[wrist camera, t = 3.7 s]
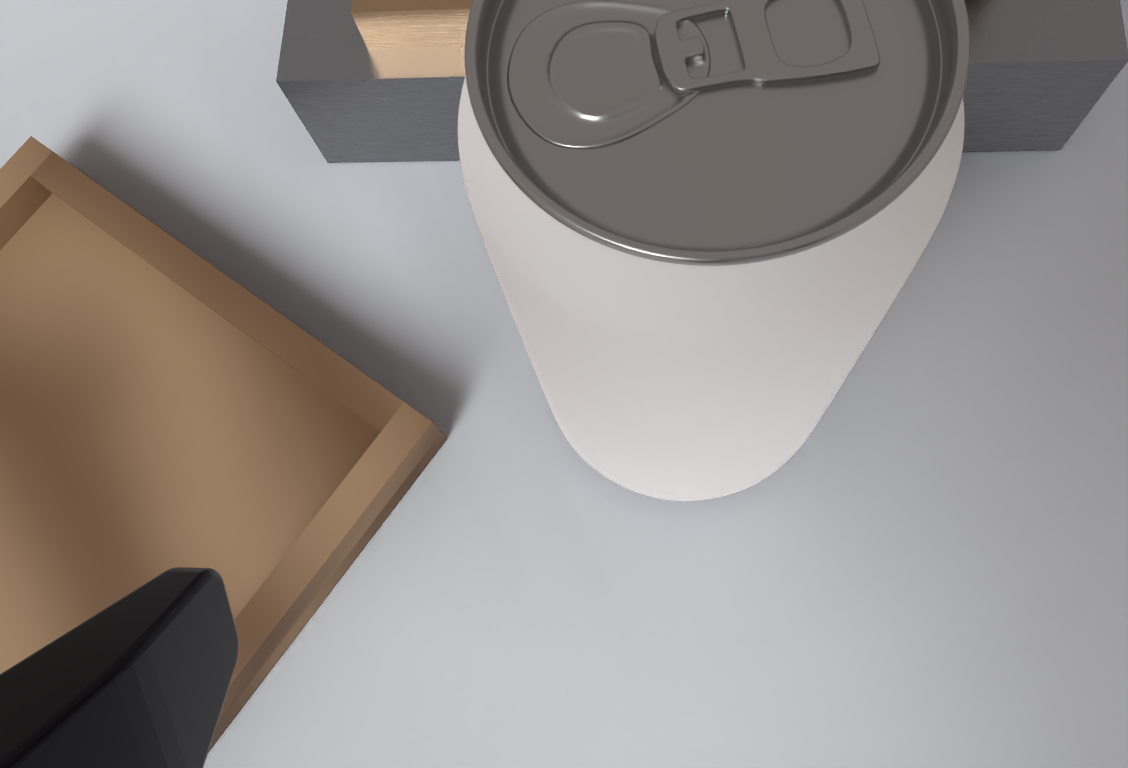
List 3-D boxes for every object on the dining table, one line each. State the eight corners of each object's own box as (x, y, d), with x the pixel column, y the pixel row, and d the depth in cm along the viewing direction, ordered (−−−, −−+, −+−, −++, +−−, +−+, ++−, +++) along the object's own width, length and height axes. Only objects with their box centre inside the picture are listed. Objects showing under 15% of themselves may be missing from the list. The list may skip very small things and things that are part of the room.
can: (524, 268, 23) (394, -131, 12) (787, 215, 23) (916, -243, 12) (569, 530, 21) (468, 355, 10) (859, 476, 21) (1101, 231, 10)
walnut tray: (62, 944, 20) (15, 965, 18) (-306, 572, 23) (-370, 565, 21) (447, 438, 22) (432, 421, 21) (66, 167, 25) (31, 136, 24)
